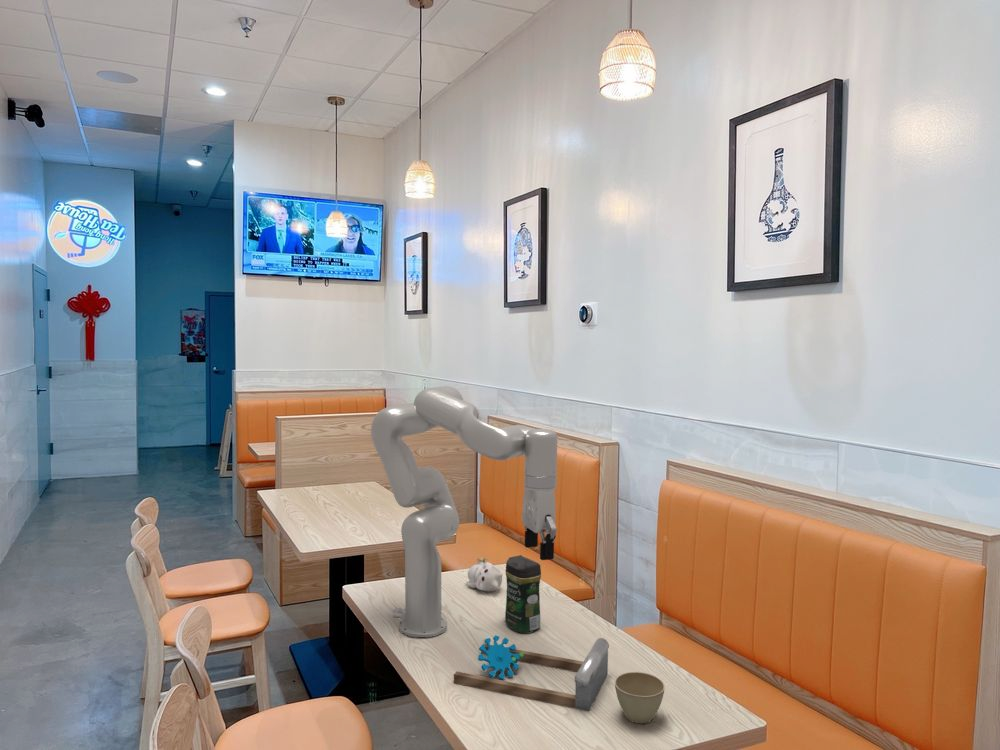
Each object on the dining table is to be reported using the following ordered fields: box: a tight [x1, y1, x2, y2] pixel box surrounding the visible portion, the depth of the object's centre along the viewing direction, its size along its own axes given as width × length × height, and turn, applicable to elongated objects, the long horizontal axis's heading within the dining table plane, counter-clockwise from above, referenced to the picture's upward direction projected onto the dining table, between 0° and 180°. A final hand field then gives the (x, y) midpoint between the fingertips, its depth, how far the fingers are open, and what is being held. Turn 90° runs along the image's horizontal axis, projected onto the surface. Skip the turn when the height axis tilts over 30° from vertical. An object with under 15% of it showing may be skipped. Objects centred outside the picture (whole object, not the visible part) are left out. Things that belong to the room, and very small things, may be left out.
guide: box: [453, 643, 584, 709], centre depth 160 cm, size 28×17×2 cm, turn 69°
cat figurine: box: [467, 557, 503, 592], centre depth 215 cm, size 10×8×15 cm
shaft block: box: [574, 637, 610, 712], centre depth 154 cm, size 3×18×8 cm, turn 158°
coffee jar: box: [504, 554, 542, 634], centre depth 187 cm, size 10×8×19 cm
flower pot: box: [614, 671, 666, 724], centre depth 143 cm, size 10×10×7 cm
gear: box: [477, 634, 524, 681], centre depth 163 cm, size 11×6×10 cm
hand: (538, 552), depth 167 cm, fingers open, 9 cm apart
